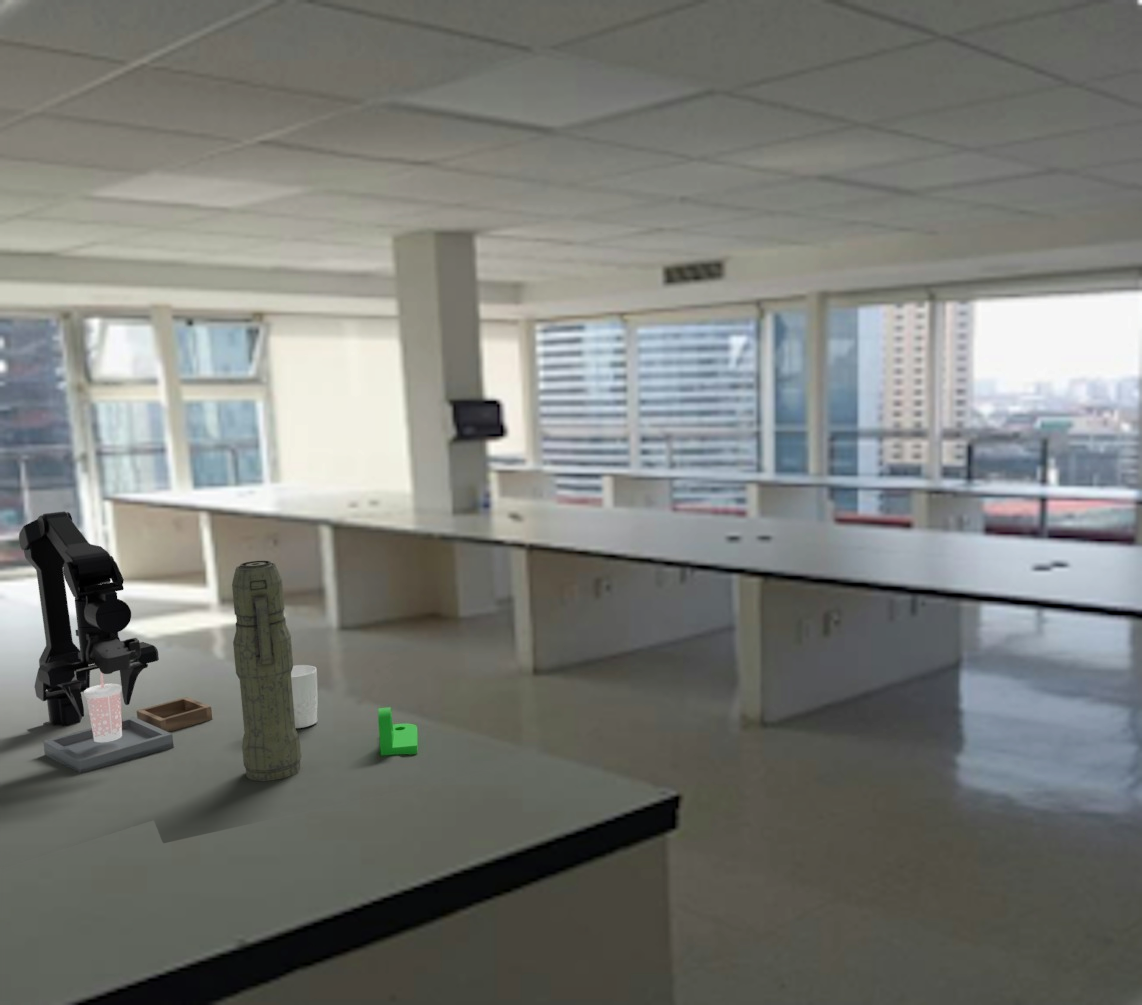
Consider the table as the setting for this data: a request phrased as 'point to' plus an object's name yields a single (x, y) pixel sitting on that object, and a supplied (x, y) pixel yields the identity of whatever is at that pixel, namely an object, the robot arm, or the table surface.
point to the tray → (107, 746)
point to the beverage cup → (105, 710)
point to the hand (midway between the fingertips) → (104, 710)
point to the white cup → (304, 695)
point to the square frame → (191, 708)
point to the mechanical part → (396, 735)
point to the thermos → (264, 673)
